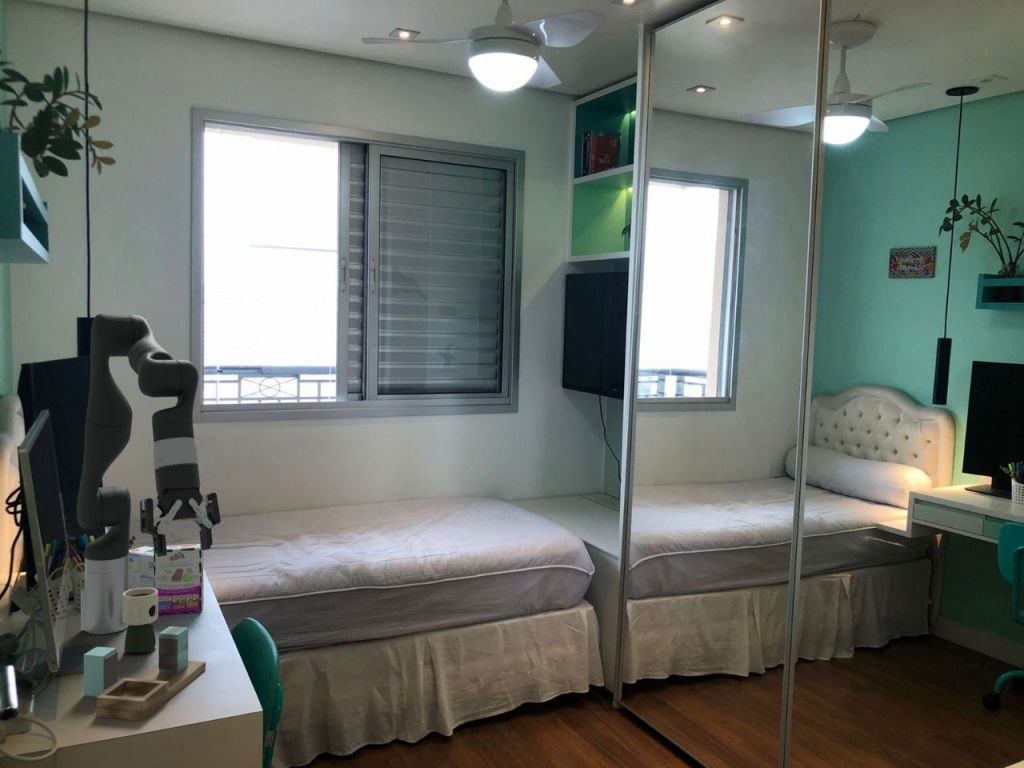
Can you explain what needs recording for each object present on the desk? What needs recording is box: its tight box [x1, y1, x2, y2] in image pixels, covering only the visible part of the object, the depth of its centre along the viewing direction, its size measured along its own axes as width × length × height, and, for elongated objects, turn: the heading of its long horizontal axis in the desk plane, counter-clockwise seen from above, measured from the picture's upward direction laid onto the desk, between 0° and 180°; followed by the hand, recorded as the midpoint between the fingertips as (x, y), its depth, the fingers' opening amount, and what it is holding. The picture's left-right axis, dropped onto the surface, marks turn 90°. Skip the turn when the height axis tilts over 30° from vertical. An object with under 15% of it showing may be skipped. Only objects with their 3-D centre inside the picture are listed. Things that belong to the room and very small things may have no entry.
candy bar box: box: [154, 543, 205, 616], centre depth 202 cm, size 11×5×16 cm, turn 105°
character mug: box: [122, 588, 159, 654], centre depth 177 cm, size 11×7×13 cm, turn 13°
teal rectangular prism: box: [83, 646, 119, 698], centre depth 156 cm, size 4×4×8 cm
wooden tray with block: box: [95, 625, 207, 722], centre depth 157 cm, size 9×23×10 cm, turn 173°
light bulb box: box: [129, 545, 154, 589], centre depth 218 cm, size 11×7×11 cm, turn 68°
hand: (184, 552), depth 147 cm, fingers open, 8 cm apart
